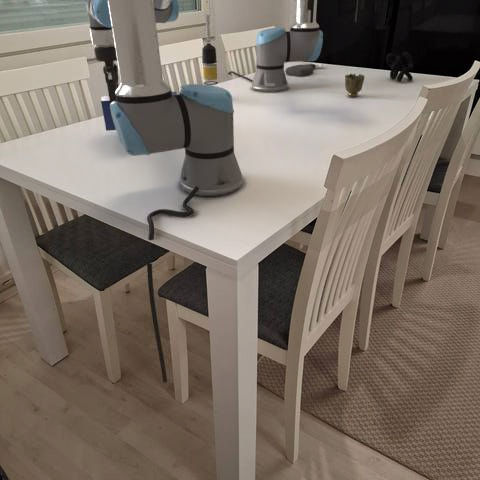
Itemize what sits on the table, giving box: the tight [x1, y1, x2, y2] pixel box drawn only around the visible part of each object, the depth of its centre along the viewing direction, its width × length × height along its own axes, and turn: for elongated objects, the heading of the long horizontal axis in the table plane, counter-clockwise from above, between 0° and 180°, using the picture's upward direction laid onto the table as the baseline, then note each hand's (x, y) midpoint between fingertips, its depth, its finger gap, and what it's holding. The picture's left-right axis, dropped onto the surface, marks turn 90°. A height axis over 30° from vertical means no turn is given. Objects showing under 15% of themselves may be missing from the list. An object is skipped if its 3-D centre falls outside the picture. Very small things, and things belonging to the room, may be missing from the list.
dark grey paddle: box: [284, 62, 327, 77], centre depth 219 cm, size 3×11×24 cm
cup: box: [344, 73, 365, 98], centre depth 176 cm, size 8×7×8 cm
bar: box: [100, 91, 178, 132], centre depth 138 cm, size 23×6×9 cm, turn 101°
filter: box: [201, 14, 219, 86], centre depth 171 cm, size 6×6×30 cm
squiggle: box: [385, 51, 414, 83], centre depth 198 cm, size 11×10×15 cm
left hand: (119, 124), depth 139 cm, fingers closed on bar, 5 cm apart
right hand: (333, 22), depth 135 cm, fingers open, 13 cm apart
